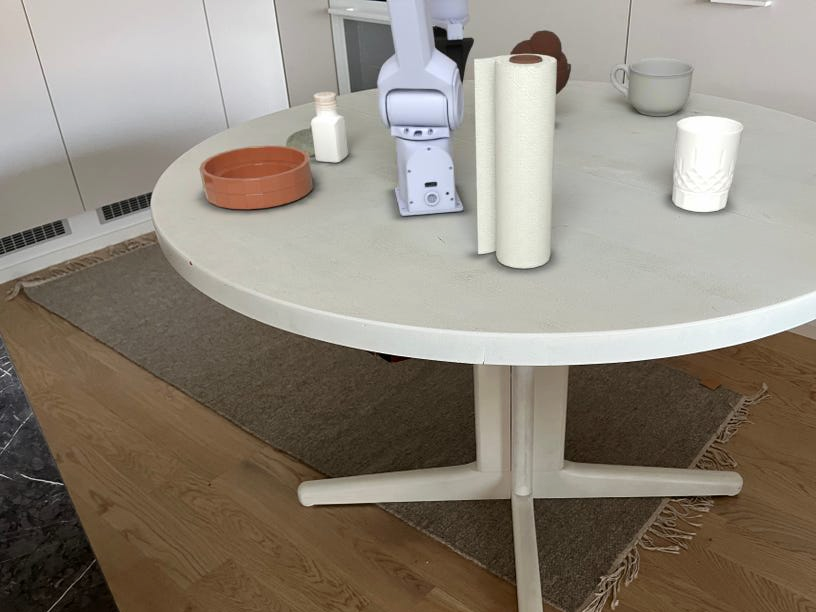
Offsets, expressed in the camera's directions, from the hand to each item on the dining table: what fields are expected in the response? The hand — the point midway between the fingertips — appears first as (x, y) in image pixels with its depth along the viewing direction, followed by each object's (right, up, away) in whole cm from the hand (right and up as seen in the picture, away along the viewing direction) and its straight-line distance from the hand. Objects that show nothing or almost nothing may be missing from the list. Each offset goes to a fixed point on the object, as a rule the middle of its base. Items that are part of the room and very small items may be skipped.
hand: (449, 83), depth 114 cm
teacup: (+34, +3, +24) cm, 42 cm away
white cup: (+32, -20, -13) cm, 40 cm away
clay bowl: (-26, -17, -7) cm, 31 cm away
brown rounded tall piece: (+14, -1, +18) cm, 23 cm away
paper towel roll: (+9, -29, -26) cm, 40 cm away
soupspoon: (-23, -3, +15) cm, 27 cm away
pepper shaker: (-18, -10, +5) cm, 21 cm away
